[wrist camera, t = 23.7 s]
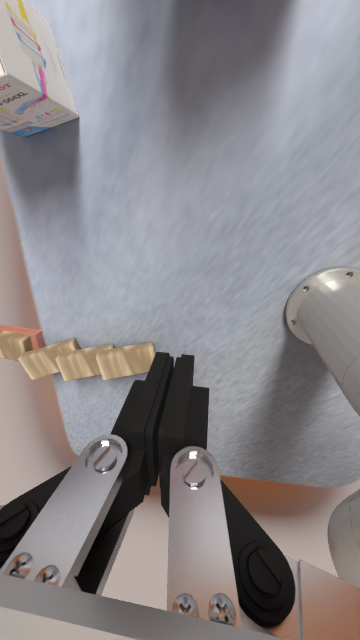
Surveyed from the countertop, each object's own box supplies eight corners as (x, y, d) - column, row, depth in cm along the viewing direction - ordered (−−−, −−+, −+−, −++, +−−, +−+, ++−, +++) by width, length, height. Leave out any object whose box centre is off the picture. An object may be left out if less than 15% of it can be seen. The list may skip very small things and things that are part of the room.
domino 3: (73, 343, 43) (18, 359, 42) (84, 364, 46) (31, 379, 45) (75, 338, 45) (22, 352, 44) (85, 358, 47) (35, 373, 47)
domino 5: (153, 347, 41) (95, 357, 41) (158, 370, 44) (103, 379, 43) (153, 341, 43) (97, 351, 42) (157, 363, 45) (105, 372, 45)
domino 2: (22, 341, 43) (-29, 331, 44) (27, 362, 46) (-22, 352, 46) (30, 335, 45) (-20, 325, 45) (34, 356, 47) (-13, 346, 48)
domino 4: (112, 349, 43) (55, 359, 42) (118, 371, 45) (64, 381, 44) (113, 343, 45) (58, 353, 43) (119, 364, 47) (67, 374, 46)
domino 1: (35, 335, 45) (-13, 328, 46) (41, 356, 47) (-5, 350, 48) (42, 329, 46) (-5, 323, 47) (47, 350, 49) (3, 344, 50)
